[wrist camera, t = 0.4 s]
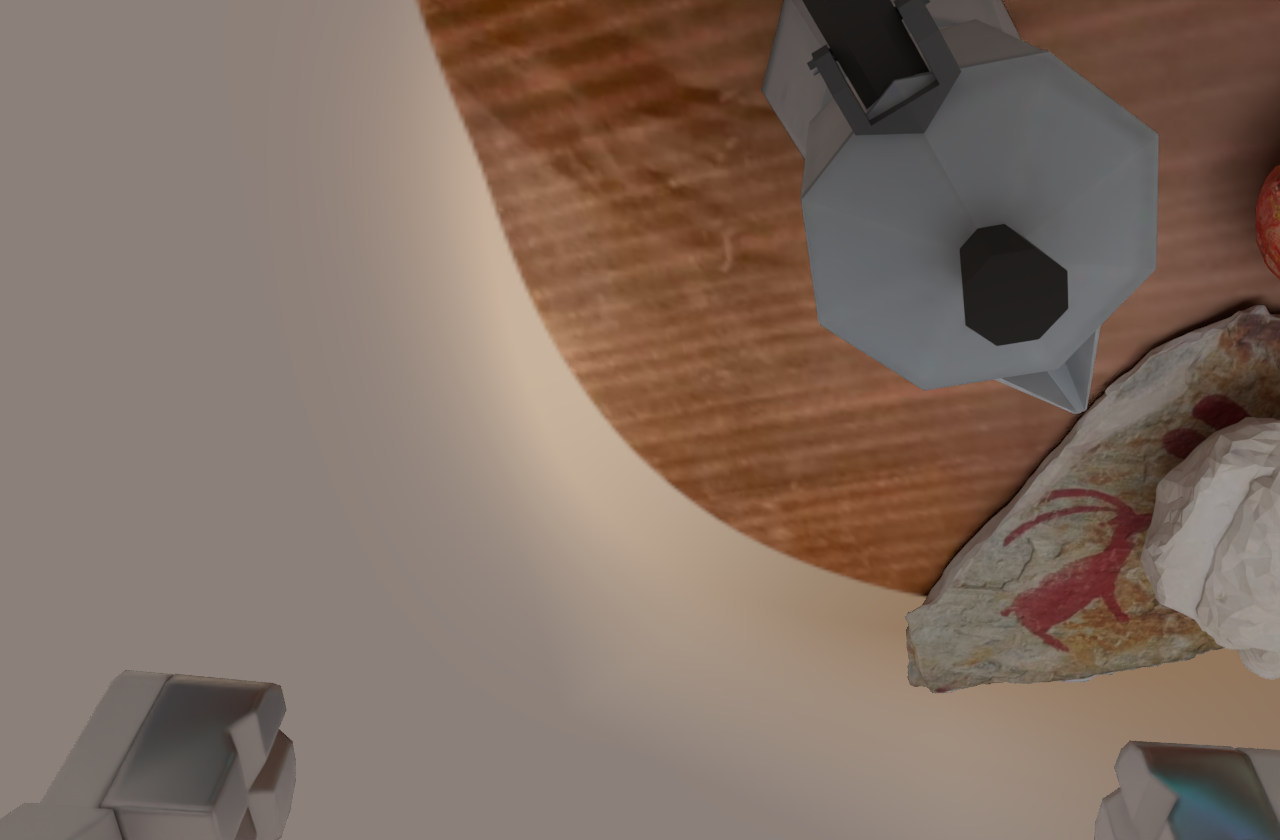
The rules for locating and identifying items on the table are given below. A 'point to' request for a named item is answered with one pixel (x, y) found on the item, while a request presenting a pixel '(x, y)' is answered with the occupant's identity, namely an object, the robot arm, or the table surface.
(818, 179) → the coffee maker
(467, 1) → the table surface
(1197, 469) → the fossil replica
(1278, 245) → the red radish
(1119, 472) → the stone artifact
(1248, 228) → the table surface
